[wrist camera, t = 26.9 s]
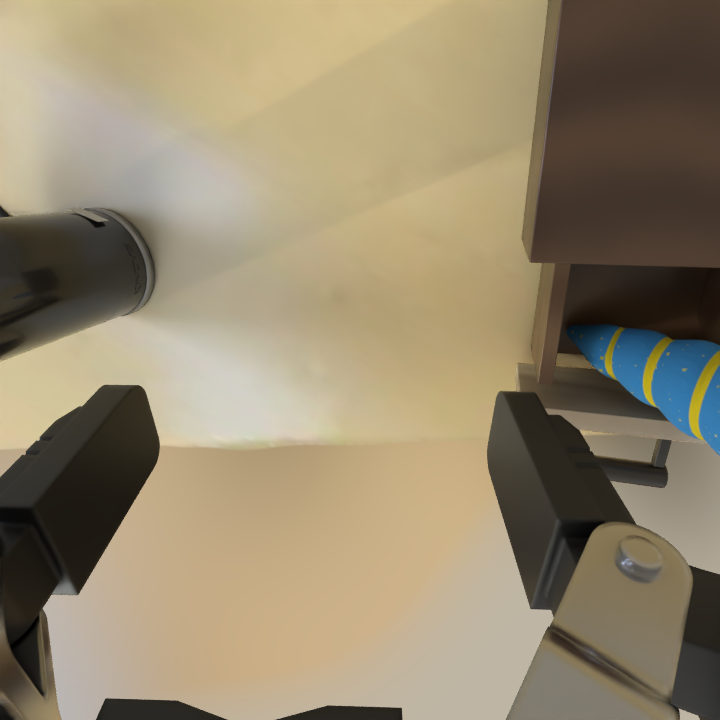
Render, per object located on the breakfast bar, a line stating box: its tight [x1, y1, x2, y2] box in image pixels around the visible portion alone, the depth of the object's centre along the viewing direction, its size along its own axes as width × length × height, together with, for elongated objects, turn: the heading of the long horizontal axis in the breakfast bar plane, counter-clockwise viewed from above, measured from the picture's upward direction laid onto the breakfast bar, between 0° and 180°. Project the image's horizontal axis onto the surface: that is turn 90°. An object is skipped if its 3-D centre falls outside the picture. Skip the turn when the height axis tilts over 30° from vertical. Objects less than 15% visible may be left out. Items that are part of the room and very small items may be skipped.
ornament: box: [566, 324, 720, 455], centre depth 24 cm, size 5×5×15 cm
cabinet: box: [522, 0, 720, 268], centre depth 23 cm, size 15×13×9 cm
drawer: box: [515, 263, 720, 488], centre depth 27 cm, size 18×12×7 cm, turn 1°
